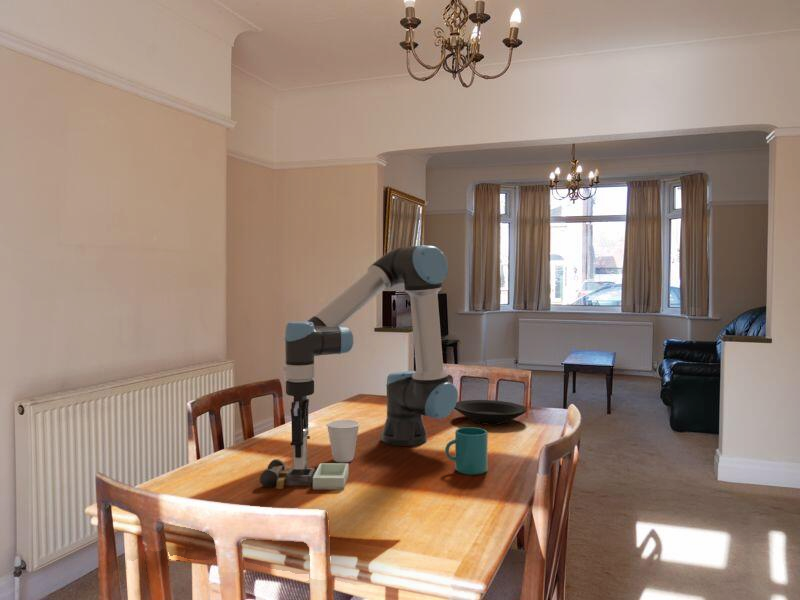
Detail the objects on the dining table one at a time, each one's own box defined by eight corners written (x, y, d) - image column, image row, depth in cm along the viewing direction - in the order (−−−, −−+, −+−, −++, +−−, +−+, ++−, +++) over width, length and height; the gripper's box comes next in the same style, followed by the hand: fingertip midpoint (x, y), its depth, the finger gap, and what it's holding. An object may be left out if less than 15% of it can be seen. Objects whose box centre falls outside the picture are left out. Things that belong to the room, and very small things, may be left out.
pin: (310, 478, 163) (309, 427, 162) (307, 484, 158) (306, 431, 158) (294, 478, 163) (293, 427, 162) (290, 483, 158) (290, 431, 158)
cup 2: (442, 466, 173) (442, 427, 173) (482, 464, 175) (483, 426, 174) (448, 476, 164) (448, 436, 164) (490, 475, 166) (491, 434, 165)
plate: (535, 419, 230) (535, 405, 230) (512, 433, 210) (512, 417, 209) (469, 410, 245) (469, 397, 245) (441, 423, 225) (441, 408, 224)
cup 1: (364, 456, 182) (364, 421, 182) (351, 466, 173) (351, 428, 173) (335, 453, 186) (335, 418, 185) (320, 463, 176) (320, 426, 176)
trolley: (315, 475, 165) (315, 459, 165) (309, 488, 155) (309, 471, 155) (269, 474, 166) (268, 459, 166) (259, 488, 155) (259, 471, 155)
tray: (348, 474, 166) (348, 463, 166) (343, 489, 154) (343, 478, 154) (319, 473, 166) (319, 463, 166) (312, 489, 154) (312, 477, 154)
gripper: (292, 374, 168) (292, 456, 169) (279, 385, 151) (279, 476, 152) (318, 374, 168) (319, 457, 169) (308, 385, 151) (309, 476, 152)
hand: (300, 466), depth 160 cm, fingers closed on pin, 3 cm apart
